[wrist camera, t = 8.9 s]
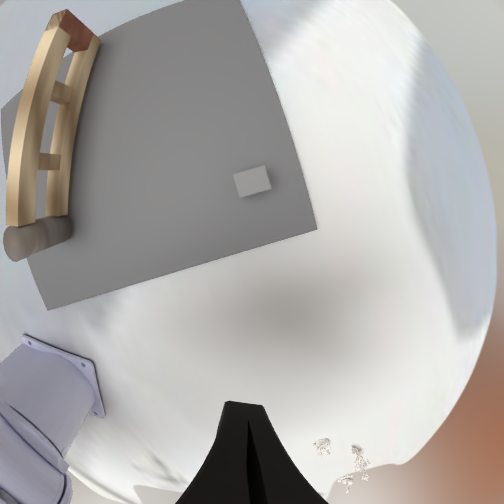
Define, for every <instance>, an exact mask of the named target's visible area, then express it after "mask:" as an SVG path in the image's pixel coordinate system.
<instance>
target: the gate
mask: <svg viewBox="0 0 504 504" xmlns="http://www.w3.org/2000/svg"><path fill="white" fill-rule="evenodd" d="M100 42H101V40H100V39H99V38H98V37H97V36H96V35H95V34H94V33H93V32H92V31H91V30H90V29H88V28H87V27H86V26H85V25H84V24H83V23H82V22H81V21H80V20H79V19H78V18H76V17H75V16H74V15H73V14H72V13H71V12H70V11H69V10H67V9H66V10H63V11H60V12H58V13H55V14H53V15H52V17H51V19H50V21H49V23H48V25H47V27H46V30H45V32H44V34H43V36H42V38H41V41H40V43H39V45H38V48H37V50H36V53H35V56H34V58H33V61H32V64H31V66H30V69H29V72H28V75H27V78H26V82H25V85H24V88H23V92H22V95H21V99H20V103H19V107H18V111H17V116H16V121H15V125H14V131H13V136H12V142H11V149H10V157H9V166H8V176H7V193H6V225H9V227H7V229H6V230H5V232H4V237H3V243H4V249H5V252H6V254H7V256H8V257H9V258H10V259H11V260H12V261H15V262H17V261H19V260H21V259H24V258H26V257H28V256H31V255H33V254H35V253H38V252H40V251H43V250H45V249H47V248H50V247H52V246H55V245H57V244H60V243H62V242H65V241H67V240H68V239H69V237H70V235H71V223H70V221H69V219H68V217H67V216H65V215H67V213H68V192H69V180H70V169H71V161H72V153H73V146H74V140H75V134H76V128H77V123H78V118H79V113H80V109H81V104H82V100H83V96H84V92H85V88H86V85H87V81H88V78H89V74H90V71H91V68H92V64H93V61H94V58H95V55H96V53H97V50H98V47H99V44H100ZM66 48H69V49H70V50H72V51H73V52H75V53H74V56H73V59H72V62H71V65H70V68H69V71H68V74H67V77H66V81H65V84H63V83H61V82H59V81H57V80H56V76H57V73H58V70H59V67H60V64H61V61H62V58H63V56H64V53H65V50H66ZM50 101H51V102H54V103H57V104H59V107H58V112H57V116H56V121H55V126H54V132H53V137H52V144H51V150H50V154H49V153H40V148H41V141H42V135H43V129H44V124H45V119H46V115H47V110H48V106H49V102H50ZM38 170H48V177H47V190H46V216H48V217H44V218H39V219H35V205H36V185H37V173H38Z"/></svg>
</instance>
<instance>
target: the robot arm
mask: <svg viewBox="0 0 504 504" xmlns="http://www.w3.org/2000/svg"><path fill="white" fill-rule="evenodd" d="M21 341H22V344H21V345H20V346H19V347H18V348H17V349H15V350H14V351H13V352H12V353H11V354H10V355H9V356H8V357H7V358H6V359H5V360H4V361H2V362H1V363H0V504H70V502H71V499H72V493H73V490H72V482H71V478H70V477H69V475H68V474H67V473H66V471H67V469H68V467H69V464H67V463H66V462H65V461H64V458H65V456H66V454H67V452H68V450H69V448H70V446H71V444H72V442H73V440H74V438H75V437H76V435H77V433H78V431H79V429H80V427H81V425H82V424H83V422H84V420H85V418H86V416H87V415H88V413H89V414H92V415H94V416H97V417H100V418H104V417H105V412H104V409H103V405H102V401H101V397H100V393H99V388H98V384H97V379H96V375H95V370H94V365H93V363H92V362H91V361H89V360H87V359H84V358H81V357H78V356H75V355H72V354H70V353H67V352H64V351H62V350H59V349H57V348H54V347H52V346H49V345H47V344H44V343H42V342H40V341H37V340H35V339H33V338H31V337H28V336H26V335H24V334H23V335H22V336H21ZM175 504H328V502H326V501H325V500H324V499H323V498H322V497H321V496H320V495H319V494H318V493H317V492H316V490H315V489H314V488H313V487H312V486H311V485H310V484H309V483H308V481H307V480H306V479H305V478H304V476H303V475H302V474H301V473H300V471H299V470H298V468H297V467H296V466H295V464H294V463H293V461H292V460H291V458H290V457H289V455H288V454H287V452H286V450H285V449H284V447H283V445H282V443H281V442H280V440H279V438H278V436H277V434H276V432H275V430H274V428H273V427H272V424H271V422H270V420H269V418H268V416H267V413H266V411H265V409H264V407H263V406H262V405H256V404H248V403H241V402H234V401H227V402H225V404H224V408H223V411H222V415H221V418H220V422H219V425H218V429H217V435H216V439H215V441H214V444H213V446H212V448H211V450H210V452H209V454H208V455H207V457H206V459H205V461H204V463H203V465H202V466H201V468H200V470H199V471H198V473H197V475H196V476H195V478H194V479H193V481H192V482H191V484H190V485H189V486H188V488H187V489H186V490H185V492H184V493H183V494H182V496H181V497H180V498H179V500H178V501H177V502H176V503H175Z"/></svg>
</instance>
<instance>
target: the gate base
mask: <svg viewBox="0 0 504 504" xmlns="http://www.w3.org/2000/svg"><path fill="white" fill-rule="evenodd" d="M98 38H99V39H100V40H101V42H100V44H99V47H98V50H97V53H96V55H95V58H94V61H93V64H92V68H91V71H90V74H89V78H88V81H87V85H86V88H85V92H84V96H83V100H82V104H81V109H80V113H79V118H78V123H77V128H76V134H75V140H74V146H73V153H72V161H71V169H70V180H69V192H68V213H67V215H65V216H67V217H68V219H69V221H70V223H71V235H70V237H69V239H68V240H67V241H65V242H62V243H60V244H57V245H55V246H52V247H50V248H47V249H45V250H43V251H40V252H38V253H35V254H33V255H31V256H28V257H26V258H27V261H28V264H29V266H30V269H31V272H32V274H33V277H34V280H35V282H36V285H37V287H38V290H39V292H40V294H41V297H42V299H43V301H44V303H45V306H46V308H47V310H52V309H55V308H58V307H62V306H65V305H68V304H71V303H75V302H78V301H81V300H84V299H88V298H91V297H94V296H98V295H101V294H104V293H107V292H111V291H114V290H117V289H121V288H124V287H127V286H130V285H134V284H137V283H140V282H144V281H147V280H150V279H154V278H157V277H160V276H164V275H167V274H170V273H173V272H177V271H180V270H183V269H187V268H190V267H193V266H197V265H200V264H203V263H207V262H210V261H213V260H217V259H220V258H223V257H227V256H230V255H233V254H237V253H240V252H243V251H247V250H250V249H253V248H257V247H260V246H263V245H267V244H270V243H273V242H277V241H280V240H284V239H287V238H290V237H294V236H297V235H300V234H304V233H307V232H310V231H314V230H317V226H316V222H315V218H314V214H313V210H312V206H311V202H310V199H309V195H308V191H307V188H306V184H305V180H304V177H303V173H302V170H301V166H300V163H299V160H298V156H297V153H296V150H295V146H294V143H293V140H292V137H291V134H290V131H289V127H288V124H287V121H286V118H285V115H284V112H283V109H282V107H281V104H280V101H279V98H278V95H277V92H276V89H275V87H274V84H273V81H272V79H271V76H270V73H269V71H268V68H267V65H266V63H265V60H264V58H263V55H262V53H261V50H260V48H259V45H258V43H257V40H256V38H255V35H254V33H253V31H252V28H251V26H250V24H249V21H248V19H247V17H246V15H245V12H244V10H243V8H242V6H241V4H240V2H239V0H185V1H182V2H178V3H175V4H172V5H169V6H166V7H164V8H161V9H158V10H155V11H153V12H150V13H148V14H145V15H143V16H140V17H138V18H136V19H133V20H131V21H129V22H127V23H125V24H122V25H120V26H118V27H116V28H114V29H112V30H110V31H108V32H106V33H104V34H103V35H101V36H99V37H98ZM74 53H75V52H72V53H70V54H69V55H67V56H66V57H64V58H63V59H62V61H61V64H60V67H59V70H58V73H57V76H56V80H57V81H59V82H61V83H63V84H65V81H66V77H67V74H68V71H69V68H70V65H71V62H72V59H73V56H74ZM22 92H23V89H22V90H21V91H20V92H19V93H18V94H17V95H16V96H14V97H13V98H12V99H11V100H10V101H9V102H8V103H7V104H6V105H5V106H4V107H3V108H2V109H1V128H2V144H3V155H4V163H5V171H6V177H7V176H8V166H9V157H10V149H11V142H12V136H13V131H14V125H15V121H16V116H17V111H18V107H19V103H20V99H21V95H22ZM58 107H59V104H57V103H54V102H51V101H50V102H49V106H48V110H47V115H46V119H45V124H44V129H43V135H42V141H41V148H40V153H49V154H50V150H51V144H52V137H53V132H54V126H55V121H56V116H57V112H58ZM47 177H48V170H38V173H37V185H36V205H35V219H39V218H44V217H48V216H46V190H47Z"/></svg>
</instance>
